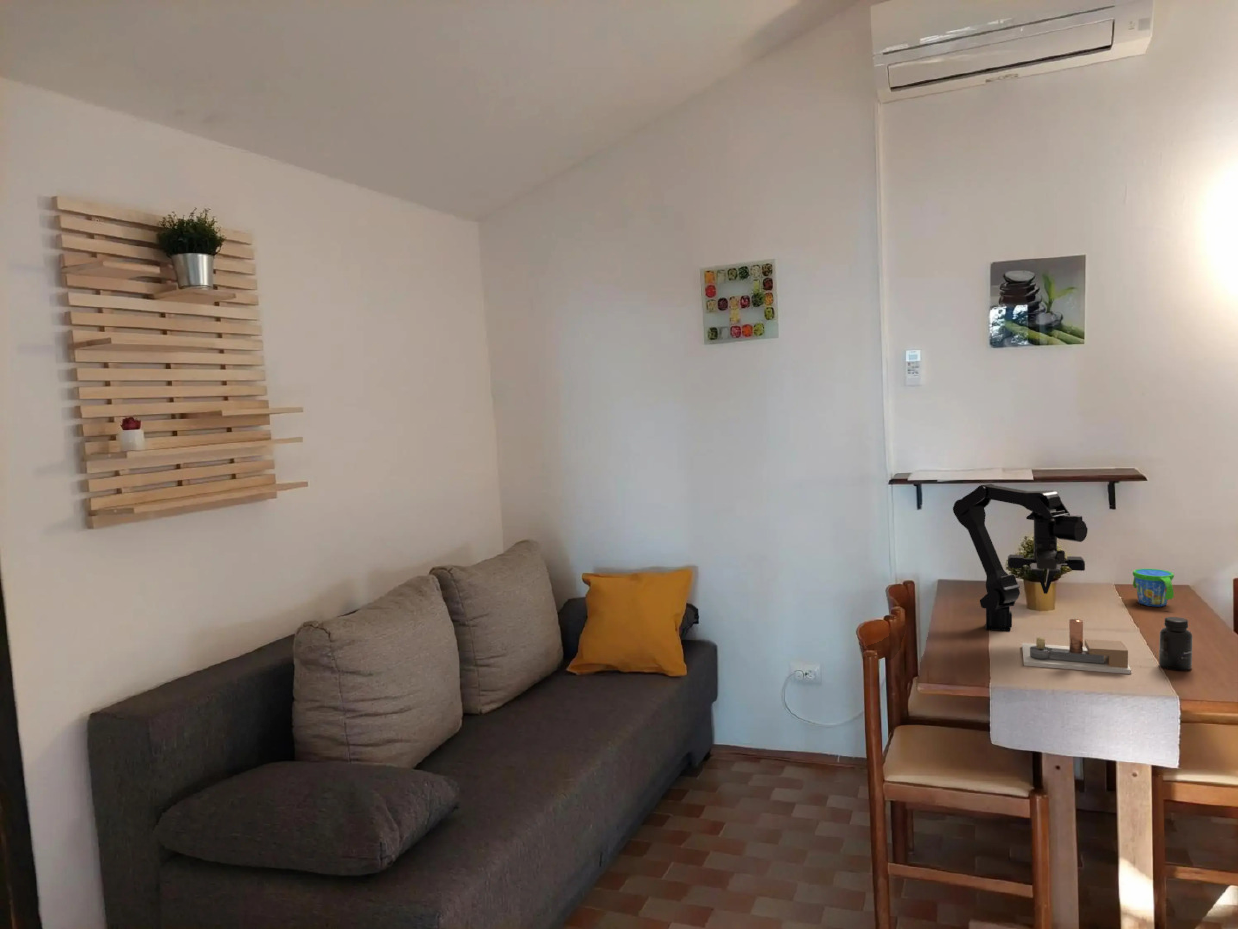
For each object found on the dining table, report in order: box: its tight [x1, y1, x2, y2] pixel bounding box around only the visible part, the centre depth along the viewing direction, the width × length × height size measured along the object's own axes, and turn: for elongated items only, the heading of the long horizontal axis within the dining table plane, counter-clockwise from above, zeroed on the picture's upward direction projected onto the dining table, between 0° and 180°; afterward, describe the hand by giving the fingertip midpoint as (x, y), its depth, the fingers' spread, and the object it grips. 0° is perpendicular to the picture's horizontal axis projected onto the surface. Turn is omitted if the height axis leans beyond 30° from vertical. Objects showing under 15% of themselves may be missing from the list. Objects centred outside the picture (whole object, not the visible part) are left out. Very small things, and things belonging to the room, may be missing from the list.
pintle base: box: [1021, 636, 1132, 675], centre depth 223 cm, size 24×16×6 cm
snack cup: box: [1132, 568, 1175, 608], centre depth 270 cm, size 16×11×10 cm
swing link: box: [1030, 618, 1104, 664], centre depth 220 cm, size 16×5×10 cm, turn 65°
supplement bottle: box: [1158, 616, 1193, 672], centre depth 214 cm, size 7×7×12 cm
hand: (1045, 593), depth 239 cm, fingers closed
